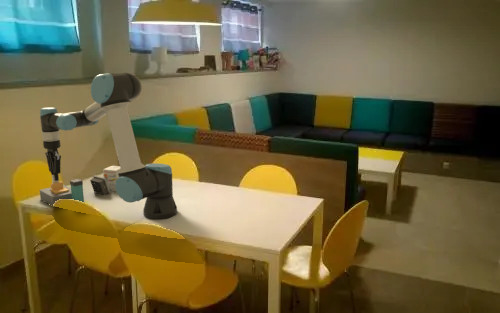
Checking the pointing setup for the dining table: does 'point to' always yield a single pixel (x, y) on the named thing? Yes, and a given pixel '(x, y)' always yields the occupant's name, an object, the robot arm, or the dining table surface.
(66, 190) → the panel
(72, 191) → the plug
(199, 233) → the dining table surface
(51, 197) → the socket
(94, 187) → the electrical switch
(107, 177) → the ink box
